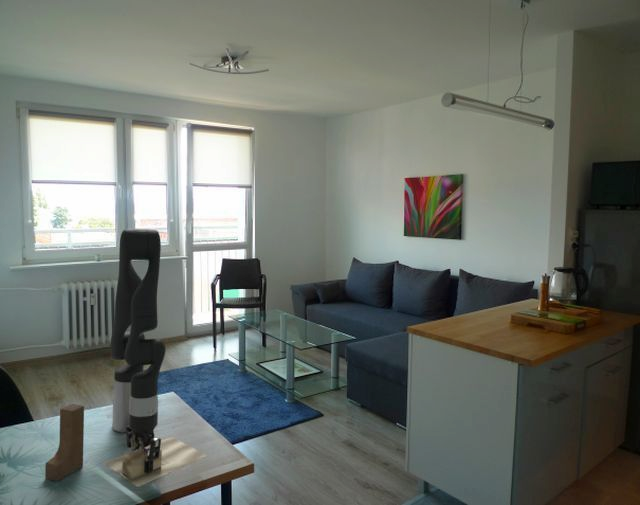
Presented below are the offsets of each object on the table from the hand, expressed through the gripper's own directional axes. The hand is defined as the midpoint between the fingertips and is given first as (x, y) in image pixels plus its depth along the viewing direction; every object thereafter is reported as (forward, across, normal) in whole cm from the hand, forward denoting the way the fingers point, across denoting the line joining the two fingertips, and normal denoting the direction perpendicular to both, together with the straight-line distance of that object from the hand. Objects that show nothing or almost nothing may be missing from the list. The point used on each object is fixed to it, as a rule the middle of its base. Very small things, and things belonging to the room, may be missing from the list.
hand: (142, 467), depth 132 cm
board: (+2, -3, +6) cm, 8 cm away
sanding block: (+1, 0, 0) cm, 1 cm away
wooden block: (+2, -17, -14) cm, 22 cm away
